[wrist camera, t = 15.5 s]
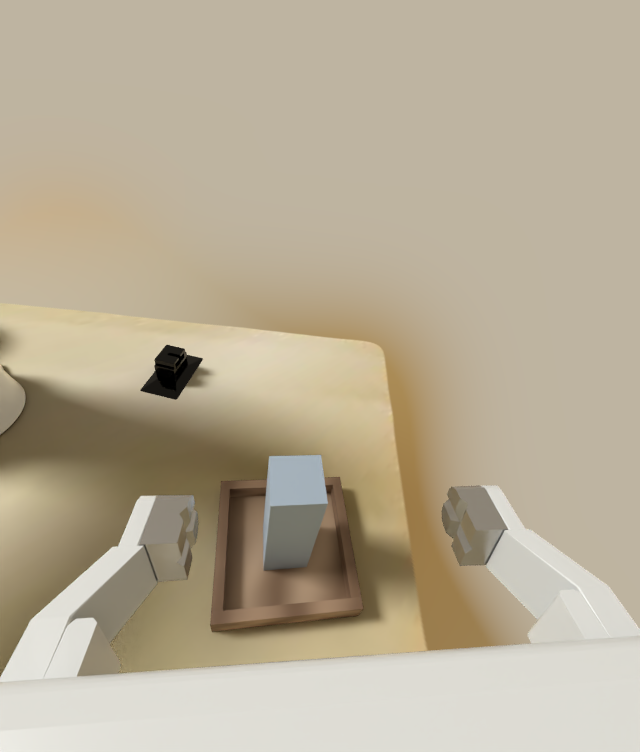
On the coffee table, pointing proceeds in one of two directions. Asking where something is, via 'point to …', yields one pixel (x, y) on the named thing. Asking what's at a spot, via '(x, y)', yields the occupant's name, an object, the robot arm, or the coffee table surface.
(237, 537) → the tray
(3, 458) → the coffee table surface
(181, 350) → the black bracket mount
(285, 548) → the block
